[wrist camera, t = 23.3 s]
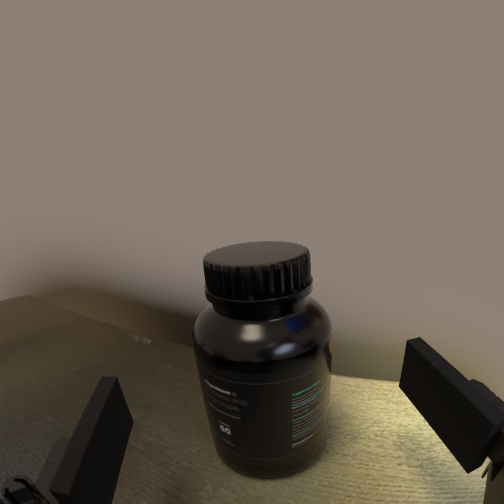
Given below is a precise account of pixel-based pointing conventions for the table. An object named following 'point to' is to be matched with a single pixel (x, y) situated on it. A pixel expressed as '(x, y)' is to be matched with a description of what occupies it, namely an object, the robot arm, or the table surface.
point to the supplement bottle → (264, 358)
